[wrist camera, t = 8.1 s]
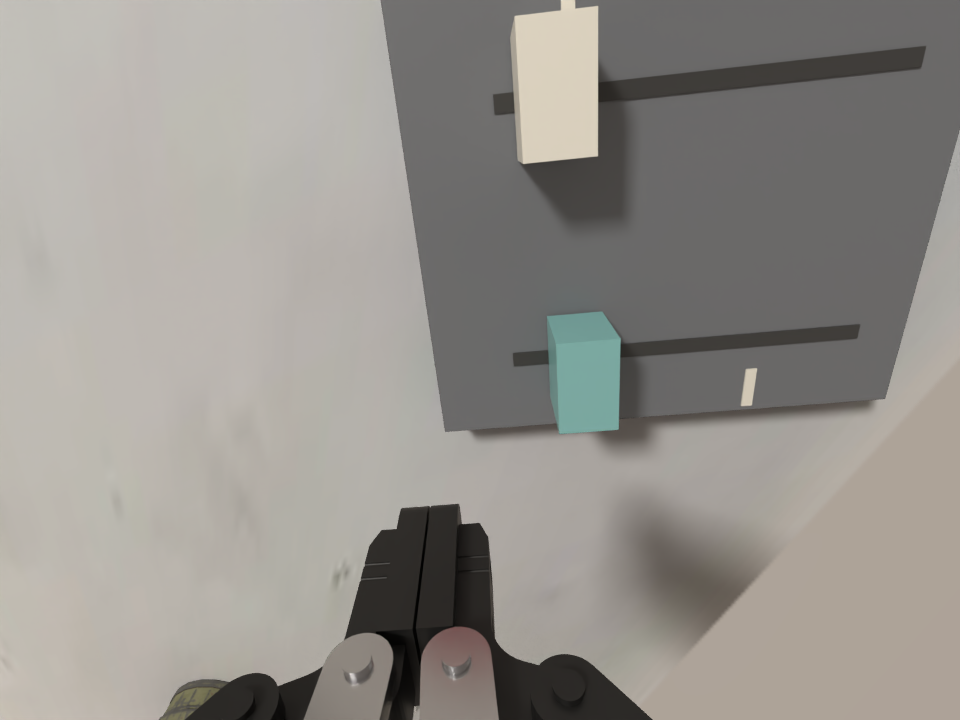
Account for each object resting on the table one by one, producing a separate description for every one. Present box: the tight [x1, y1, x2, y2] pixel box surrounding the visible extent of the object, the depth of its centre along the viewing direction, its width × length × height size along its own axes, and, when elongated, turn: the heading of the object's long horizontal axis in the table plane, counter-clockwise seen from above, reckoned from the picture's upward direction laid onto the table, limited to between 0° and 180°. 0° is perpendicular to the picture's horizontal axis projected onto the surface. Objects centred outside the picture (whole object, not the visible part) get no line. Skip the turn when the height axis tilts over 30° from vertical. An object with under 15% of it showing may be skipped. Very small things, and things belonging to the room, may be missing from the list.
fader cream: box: [510, 6, 598, 164], centre depth 20 cm, size 3×5×4 cm, turn 6°
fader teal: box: [547, 311, 621, 434], centre depth 26 cm, size 3×5×4 cm, turn 6°
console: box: [381, 0, 960, 432], centre depth 26 cm, size 26×22×3 cm
